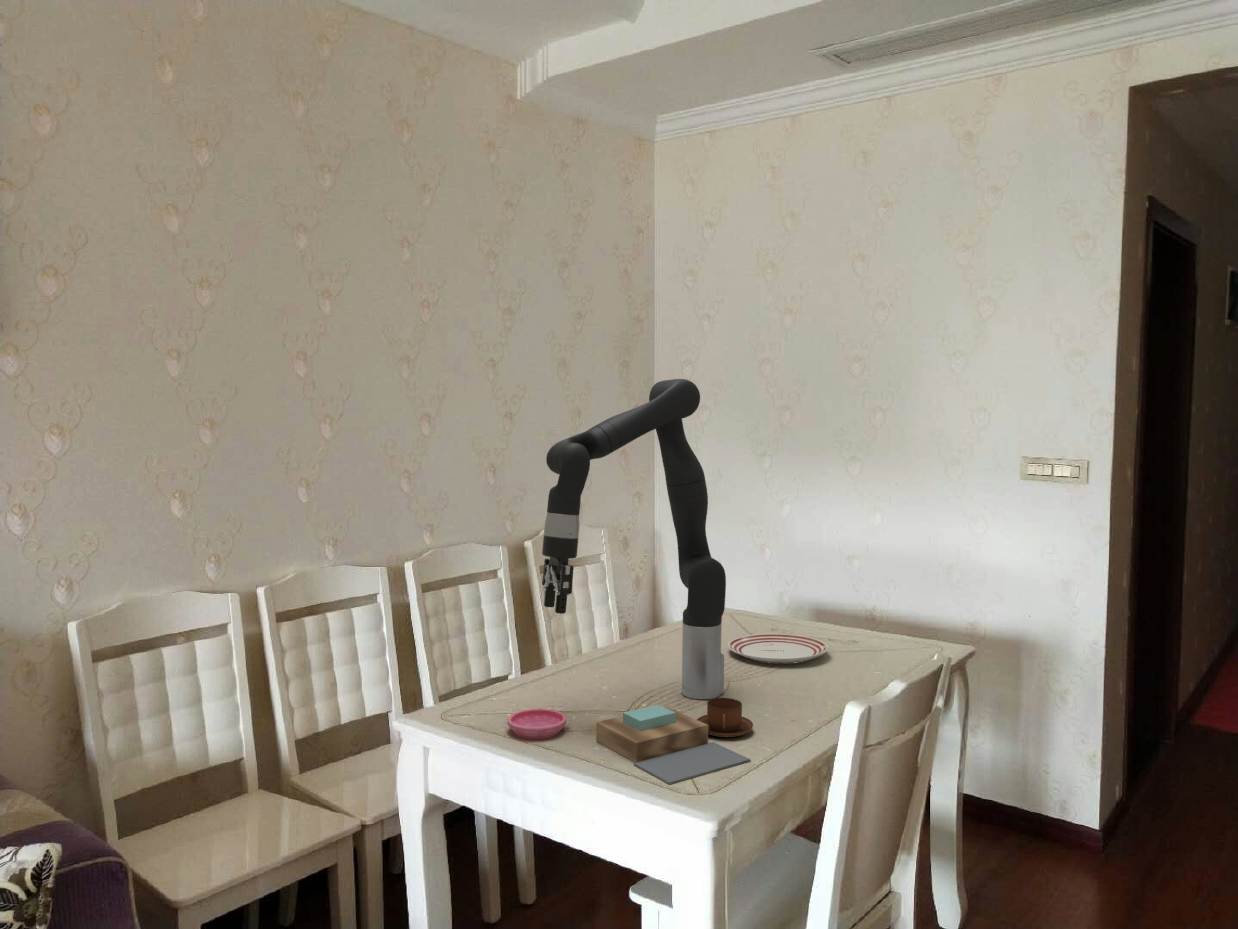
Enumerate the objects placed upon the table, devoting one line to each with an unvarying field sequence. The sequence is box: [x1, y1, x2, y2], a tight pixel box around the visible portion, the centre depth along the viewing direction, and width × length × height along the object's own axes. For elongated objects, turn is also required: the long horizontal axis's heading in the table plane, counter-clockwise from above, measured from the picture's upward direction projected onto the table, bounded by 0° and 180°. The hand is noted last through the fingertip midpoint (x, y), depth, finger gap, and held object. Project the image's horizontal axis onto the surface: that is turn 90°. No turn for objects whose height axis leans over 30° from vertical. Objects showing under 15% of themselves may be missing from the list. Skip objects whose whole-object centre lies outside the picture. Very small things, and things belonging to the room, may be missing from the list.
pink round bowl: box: [506, 708, 567, 740], centre depth 198 cm, size 12×12×3 cm
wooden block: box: [595, 705, 709, 763], centre depth 191 cm, size 18×14×4 cm
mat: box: [633, 741, 751, 785], centre depth 181 cm, size 20×11×1 cm, turn 125°
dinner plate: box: [727, 633, 829, 664], centre depth 259 cm, size 28×27×3 cm
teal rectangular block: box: [622, 704, 676, 731], centre depth 192 cm, size 9×6×2 cm, turn 125°
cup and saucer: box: [696, 697, 754, 738], centre depth 198 cm, size 12×12×6 cm
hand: (554, 610), depth 202 cm, fingers open, 8 cm apart
